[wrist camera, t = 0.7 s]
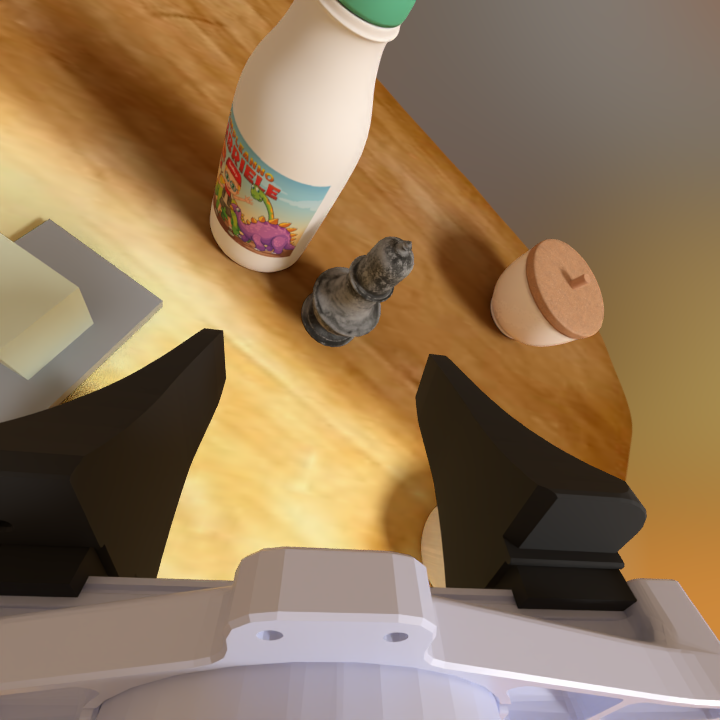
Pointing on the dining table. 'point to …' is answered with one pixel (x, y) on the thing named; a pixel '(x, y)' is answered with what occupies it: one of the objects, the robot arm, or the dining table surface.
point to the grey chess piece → (356, 293)
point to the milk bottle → (298, 127)
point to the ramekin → (433, 550)
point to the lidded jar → (547, 297)
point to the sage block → (35, 311)
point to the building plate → (95, 345)
